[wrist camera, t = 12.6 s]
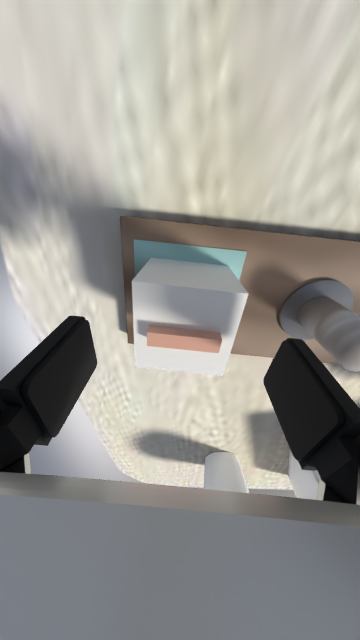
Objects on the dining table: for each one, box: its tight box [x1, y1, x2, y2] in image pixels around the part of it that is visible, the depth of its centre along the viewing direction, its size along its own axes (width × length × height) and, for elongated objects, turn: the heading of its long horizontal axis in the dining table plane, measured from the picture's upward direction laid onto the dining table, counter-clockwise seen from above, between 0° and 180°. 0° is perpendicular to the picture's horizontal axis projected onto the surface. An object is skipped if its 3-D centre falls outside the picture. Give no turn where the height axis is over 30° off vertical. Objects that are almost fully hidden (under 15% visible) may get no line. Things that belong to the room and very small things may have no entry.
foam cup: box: [204, 452, 249, 493], centre depth 30 cm, size 10×9×13 cm
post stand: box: [120, 216, 360, 372], centre depth 15 cm, size 12×23×8 cm, turn 85°
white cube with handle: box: [132, 257, 248, 376], centre depth 14 cm, size 6×6×7 cm
